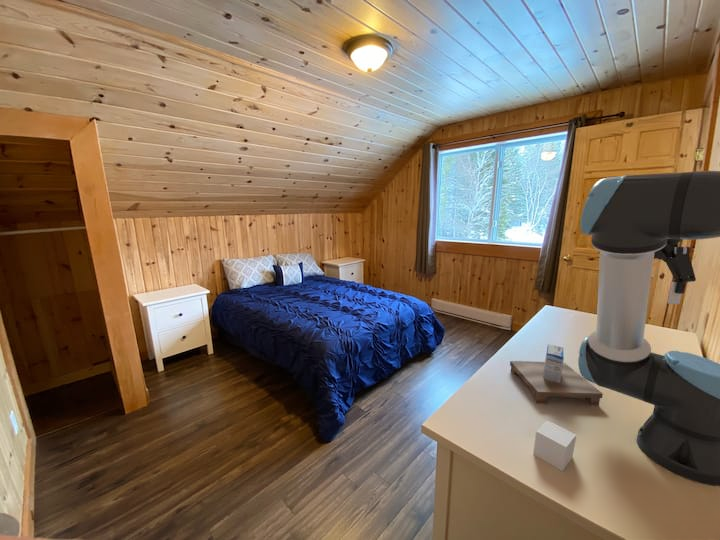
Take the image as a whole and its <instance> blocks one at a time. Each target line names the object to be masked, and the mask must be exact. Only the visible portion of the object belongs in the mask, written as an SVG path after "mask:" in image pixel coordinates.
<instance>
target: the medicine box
mask: <svg viewBox="0 0 720 540" xmlns="http://www.w3.org/2000/svg"><path fill="white" fill-rule="evenodd" d="M564 360H565V357H564V347H562V346H558V345H555V344H547V346H546V354H545V361H544V362H545V365H544V376H543V378H544V379H546V380H550V381H553V382H557V383H560V379H561V373H562V366H563V362H564Z"/></svg>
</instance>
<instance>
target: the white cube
mask: <svg viewBox="0 0 720 540" xmlns="http://www.w3.org/2000/svg"><path fill="white" fill-rule="evenodd" d="M576 439H577V434H575V433H574V432H571V431H570V430H567V429H565V428H563V427H561V426H559V425H557V424H555V423H553V422H552V421H549V420H546V421H545V422H544V423H543V424H542V425H541V426H540V427H539V428H538V429H537V430H536V432H535V439H534V445H533V455H534V456H536V457H538V458H540V459H542V460H543V461H545V462H546V463H548V464H549V465H552V466H554V467H555V468H557V469H558V470H559V471H562V472H563V471H564V470H565V469H566V467H567V466H568V464H569V463H570V462H571V460H572V459H573V457H574V452H575V451H574V450H575V445H576Z"/></svg>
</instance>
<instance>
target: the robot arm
mask: <svg viewBox="0 0 720 540" xmlns="http://www.w3.org/2000/svg"><path fill="white" fill-rule="evenodd" d="M581 212H582V213H581V217H580V222H579V223H580V225H579V228H580V232H581V233H582V234H583V235H586V236H591V241H590V242H591V246H592V247H593V248H594V249H595V250H597V251H598V252H599V260H598V261H599V265H598V266H599V267H598V282H597V283H598V285H597V286H598V287H597V289H598V290H597V305H596V306H597V309H596V311H597V312H596V329H595V331H593V332H592V333H590V334H589V336H586V337H585V338H583V340H582V341H581V344H580V347H579V350H578V361H577V363H578V370H579V372H580V376H582V377H583V378H584V379H585V380H587V381H588V382H589V383H591V384H595V385H597V386H599V387H602V388H605V389H608V390H611V391H613V392H617V393H619V394H622V395H624V396H628V397H631V398H633V399H636V400H639V401H641V402H645V403H647V404H650V405H653V406H654V407H653V409H652V410H653V411H652V414H651V415H650V416H649V417H648V418H647V420H646V421H645V422H644V423H643V425H642V426H640V428H639V429H638V431H637V435H636V443H637V446H638V447H639V448H640V450H641V451H642V452H643V453H644V454H645V455H646V456H647V457H648V458H650V460H652V461H654V462H655V463H657V464H658V465H660V466H662V467H663V468H665V469H666V470H668V471H670V472H672V473H674V474H677V475H679V476H680V477H683V478H685V479H688V480H691V481H692V482H696V483H701V484H705V485H708V486H709V485H710V486H720V363H718V362H716V361H715V360H714V361H713V360H711V359H708V358H707V357H704V356H701V355H697V354H694V353H691V352H685V351H678V350H669V351H667V352H666V353H664V354H663V355H662V354H659V353H655V352H653V351H652V346H651V344H650V343H649V341H648V340H647V339H646V338H644V337H645V329H646V321H647V314H648V313H647V312H648V305H649V298H650V291H651V285H652V284H651V283H652V275H653V269H654V268H653V266H654V259H656V260H662V261H663V262H664V263H665V264H666V265H667V268H668V270H669V271H670V273H671V275H672V277H673V279H674V280H672V281H671V283H670V284H671V285H670V289H669V294H668V299H667V304H669V305H680V303H681V300H682V294H684V293H685V291H686V285H687V283H689V282H690V283H691V282H696V280H697V279H696V278H697V277H696V274H695V272H694V267H693V264H692V260H691V257H690V250H691V248H690V247H689V246H679V243H681V242H682V241H683V240H686V241H687V240H692V241H694V240H707V239H715V238H720V170H701V171H700V170H699V171H698V170H697V171H688V172H684V171H683V172H667V173H653V174H652V173H651V174H634V175H633V174H629V175H628V174H625V175H622V176H611V177H610V176H609V177H604V178H602V179H599V180H598V181H596V183H594V185H593V186H592V188H590V191H589V193H588V195H587V198H586V199H585V203H584V205H583V209H582V211H581Z"/></svg>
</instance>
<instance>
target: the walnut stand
mask: <svg viewBox="0 0 720 540" xmlns="http://www.w3.org/2000/svg"><path fill="white" fill-rule="evenodd" d="M544 365H545V361H526V360H523V361H522V360H519V361H518V360H511V361H510V362H509V366H510V373H511V372H512V373H511V375H512V376H513V375H519V376H518V377H520V378H521V380H523V382H524V383H525V384H526V385H527V386H528V387H529V389H530V390H531V391H532V400H533V401H534V402H535V403H536V404H539V405H541V404H542V405H543V404H544V405H546V401H547V397H548V398H549V397H550V398H575V399H576V398H579V399H580V398H581V399H582V398H583V399H584V401H585V402H586V403H587V404H588V405H589V406H599V405H600V400H601V399H602V398H603V396H604V395H603V394H604V393H603V392H602V391H600V390H599V389H598V388H596V387H595V386H594V385H593V383H591V382H590V381H588V380H586V379H585V378H584V377H583V376H582V375H581V374H579V372H577V371H575V370H574V369H573V368H572V367H571V366H570V365H568V364H567V363H565V362H564V361H563V366H562V373H561V379H560V383H557V382H553V381H550V380H546V379H544V378H543V376H544Z"/></svg>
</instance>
